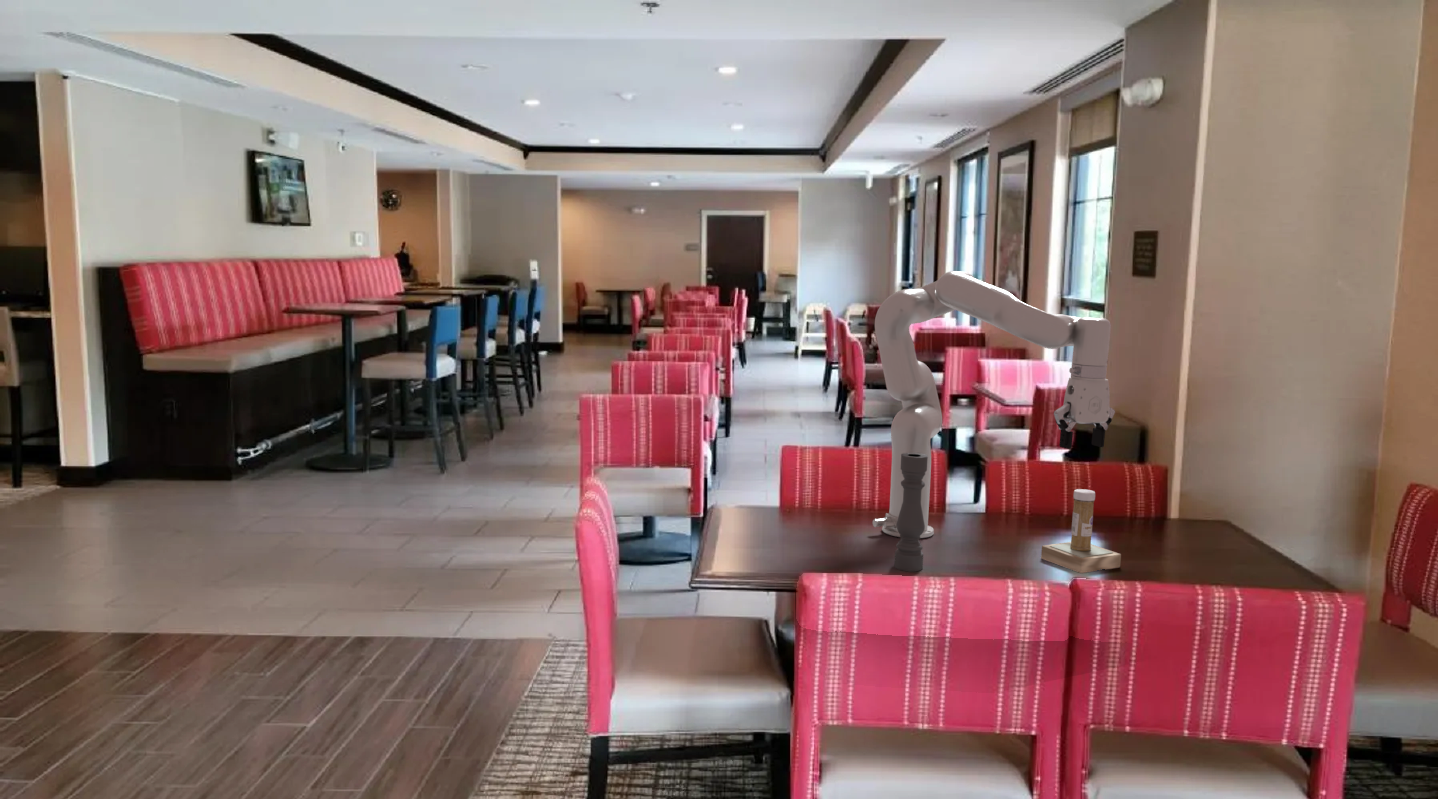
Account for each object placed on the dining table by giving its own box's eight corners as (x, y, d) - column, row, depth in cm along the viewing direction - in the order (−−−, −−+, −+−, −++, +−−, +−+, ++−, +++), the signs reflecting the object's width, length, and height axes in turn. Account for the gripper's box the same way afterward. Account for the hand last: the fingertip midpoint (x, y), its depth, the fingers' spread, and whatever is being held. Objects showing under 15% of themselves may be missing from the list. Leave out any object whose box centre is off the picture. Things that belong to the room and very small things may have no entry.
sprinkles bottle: (1090, 552, 232) (1095, 493, 230) (1069, 550, 233) (1073, 491, 231) (1091, 547, 236) (1095, 489, 234) (1070, 545, 237) (1074, 487, 236)
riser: (1080, 573, 227) (1081, 559, 226) (1040, 558, 237) (1041, 544, 237) (1120, 567, 232) (1121, 553, 232) (1079, 553, 243) (1080, 539, 242)
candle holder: (891, 563, 231) (896, 452, 227) (918, 563, 231) (924, 452, 228) (898, 571, 225) (904, 458, 221) (926, 571, 225) (932, 458, 222)
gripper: (1071, 375, 227) (1064, 451, 229) (1129, 374, 234) (1122, 448, 237) (1047, 370, 233) (1040, 445, 236) (1104, 370, 241) (1097, 442, 243)
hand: (1081, 446), depth 236 cm, fingers open, 9 cm apart
